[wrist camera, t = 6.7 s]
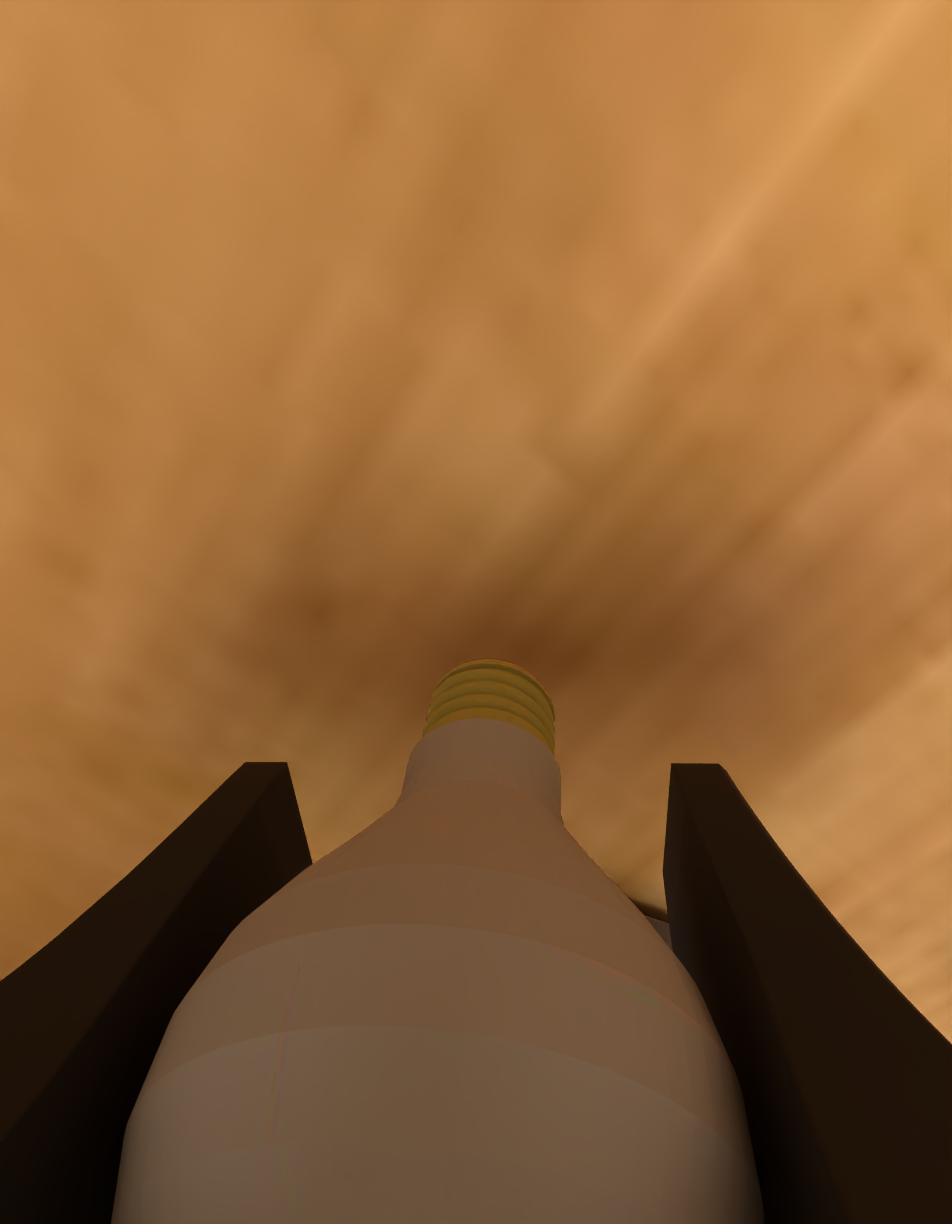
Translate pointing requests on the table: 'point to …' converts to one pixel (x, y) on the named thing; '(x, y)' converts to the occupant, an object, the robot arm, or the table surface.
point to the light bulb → (446, 1023)
